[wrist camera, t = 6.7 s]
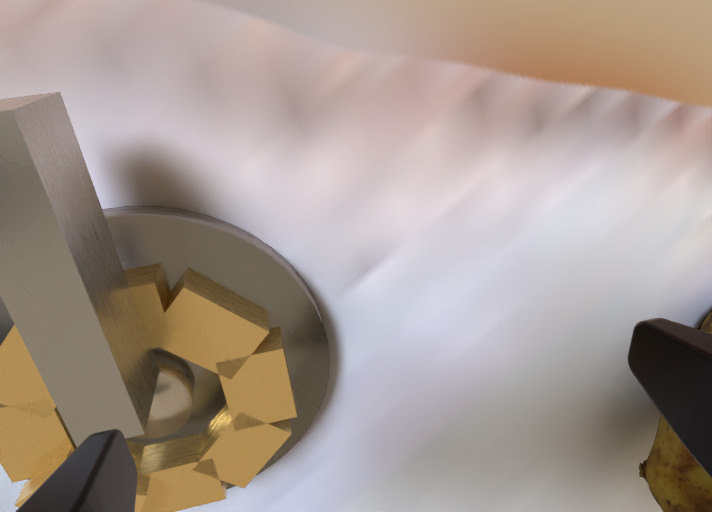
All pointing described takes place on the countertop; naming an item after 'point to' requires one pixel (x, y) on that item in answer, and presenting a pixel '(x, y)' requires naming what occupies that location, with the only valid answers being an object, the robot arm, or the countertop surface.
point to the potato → (677, 469)
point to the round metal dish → (239, 274)
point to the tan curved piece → (116, 333)
